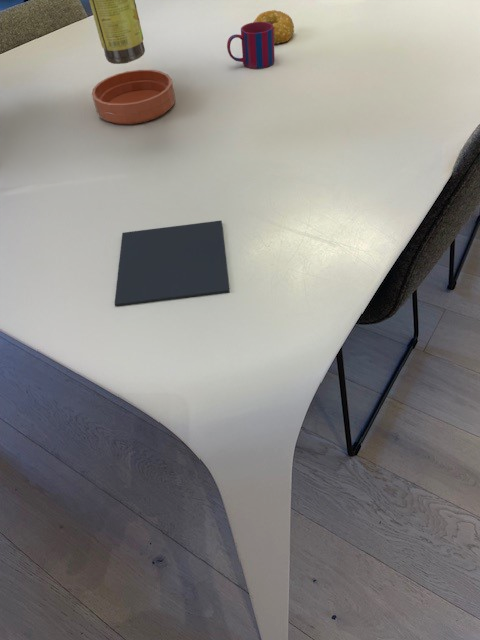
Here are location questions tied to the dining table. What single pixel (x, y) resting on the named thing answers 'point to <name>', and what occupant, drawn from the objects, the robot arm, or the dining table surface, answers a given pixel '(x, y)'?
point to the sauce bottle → (118, 29)
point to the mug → (255, 45)
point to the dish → (134, 96)
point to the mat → (171, 263)
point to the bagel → (278, 24)
